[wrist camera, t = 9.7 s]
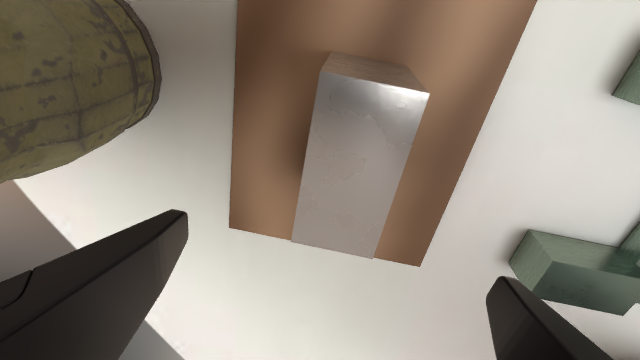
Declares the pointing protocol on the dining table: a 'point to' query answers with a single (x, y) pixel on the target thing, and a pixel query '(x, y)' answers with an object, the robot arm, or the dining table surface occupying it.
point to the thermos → (70, 80)
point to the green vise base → (584, 255)
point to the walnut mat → (379, 44)
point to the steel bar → (356, 152)
